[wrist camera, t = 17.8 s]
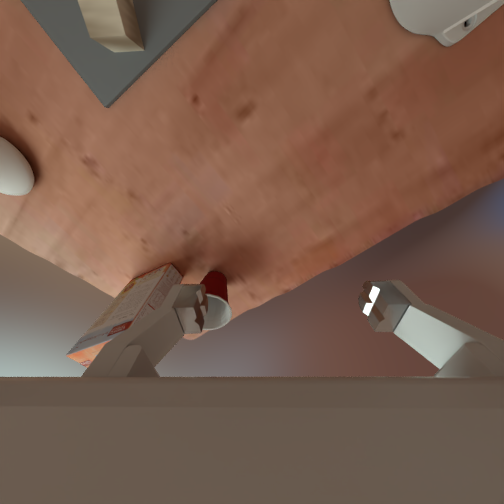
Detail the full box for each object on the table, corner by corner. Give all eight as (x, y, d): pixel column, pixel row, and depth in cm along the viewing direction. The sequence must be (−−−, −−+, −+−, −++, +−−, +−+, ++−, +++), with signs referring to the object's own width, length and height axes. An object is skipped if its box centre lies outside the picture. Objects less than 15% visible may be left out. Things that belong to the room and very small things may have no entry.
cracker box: (146, 293, 53) (90, 371, 35) (130, 279, 50) (61, 355, 32) (185, 278, 50) (145, 355, 32) (171, 261, 47) (119, 336, 29)
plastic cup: (244, 283, 50) (241, 320, 40) (214, 298, 53) (204, 336, 43) (219, 255, 46) (209, 289, 35) (188, 274, 49) (170, 309, 39)
